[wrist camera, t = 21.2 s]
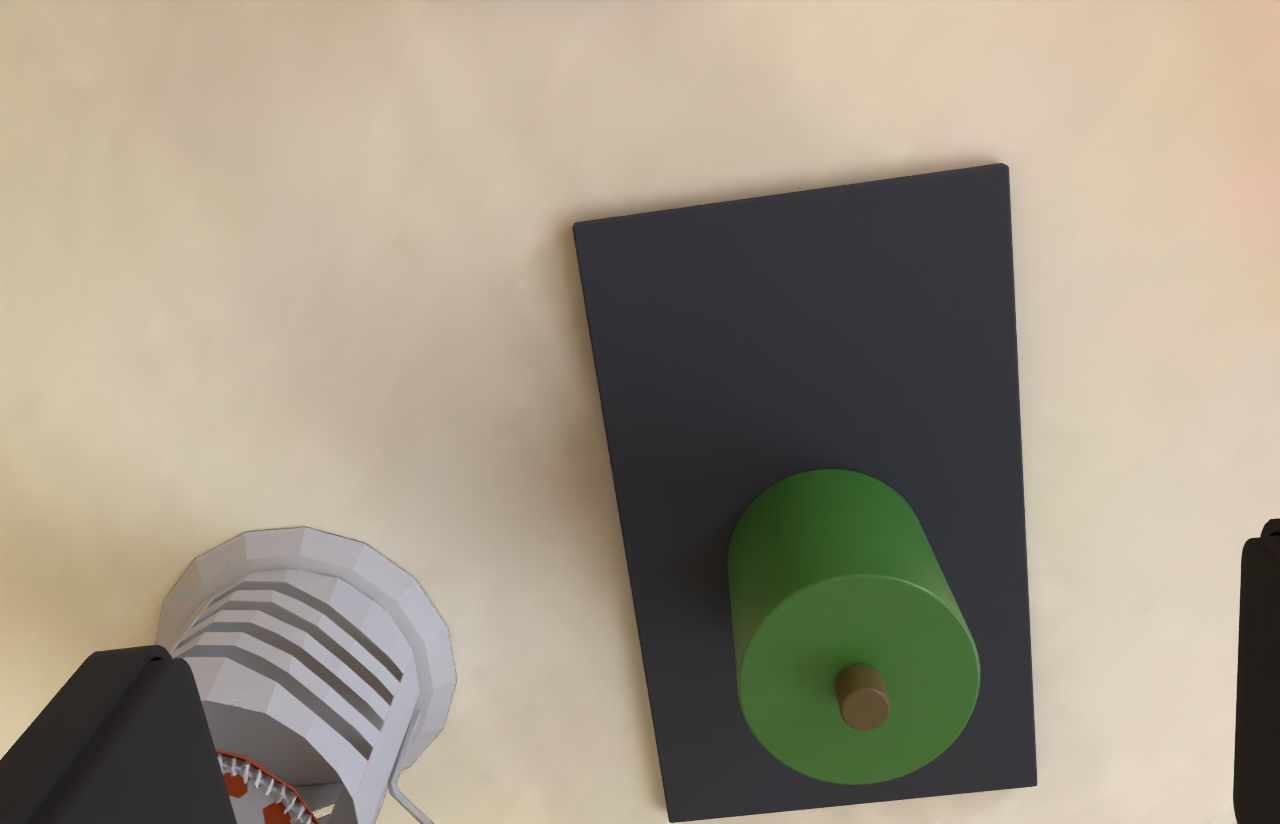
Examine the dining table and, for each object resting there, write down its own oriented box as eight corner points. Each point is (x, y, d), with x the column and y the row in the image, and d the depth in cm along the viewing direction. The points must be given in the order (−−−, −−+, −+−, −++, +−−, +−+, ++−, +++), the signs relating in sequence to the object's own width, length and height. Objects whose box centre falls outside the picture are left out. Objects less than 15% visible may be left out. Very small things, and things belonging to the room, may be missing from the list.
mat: (669, 812, 40) (669, 824, 40) (573, 222, 34) (571, 226, 34) (1032, 775, 40) (1037, 786, 39) (1003, 162, 33) (1009, 165, 33)
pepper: (739, 657, 38) (754, 827, 30) (715, 480, 36) (725, 613, 28) (932, 635, 37) (999, 803, 30) (919, 456, 35) (986, 584, 28)
